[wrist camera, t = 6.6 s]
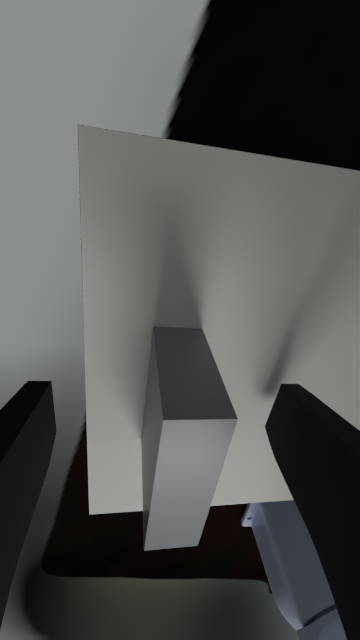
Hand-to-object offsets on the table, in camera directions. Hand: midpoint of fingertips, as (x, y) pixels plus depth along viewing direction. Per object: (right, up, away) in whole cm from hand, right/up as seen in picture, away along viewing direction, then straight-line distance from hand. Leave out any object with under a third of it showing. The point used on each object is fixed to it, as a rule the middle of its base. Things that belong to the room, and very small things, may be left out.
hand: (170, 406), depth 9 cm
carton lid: (+4, 0, +2) cm, 5 cm away
